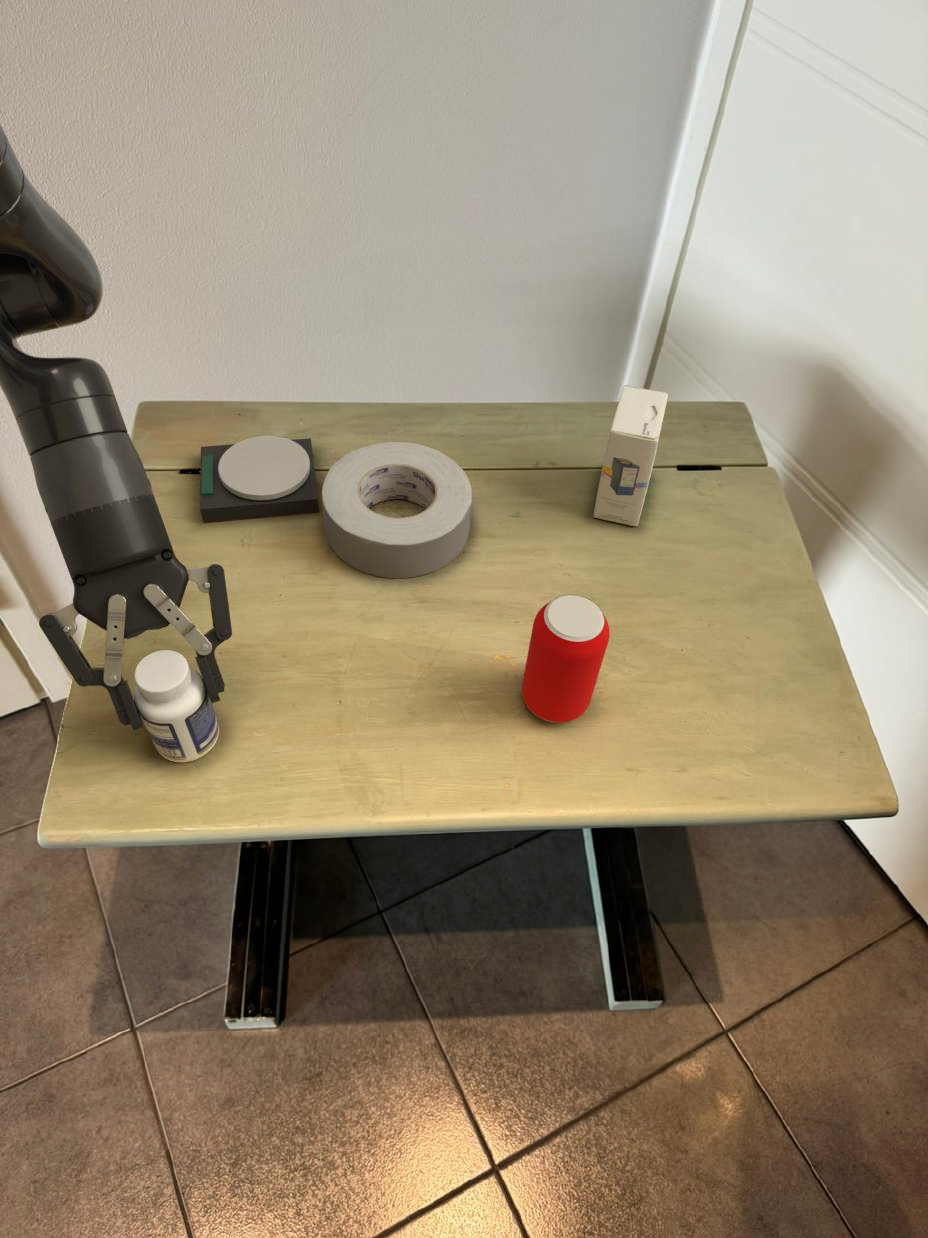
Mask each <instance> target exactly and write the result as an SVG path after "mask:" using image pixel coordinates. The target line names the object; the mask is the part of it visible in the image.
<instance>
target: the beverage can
mask: <svg viewBox="0 0 928 1238" xmlns="http://www.w3.org/2000/svg"><path fill="white" fill-rule="evenodd" d="M530 634H531V635H530V639H529V646H528V651H527V655H526V656H527V657H526V662H525V666H524V672H523V678H522V683H521V696H522V701H523V703H524V704H525V706H526V708H527V709H528V710H529V711H530V713H532V714H533V715H534V716H536V717H537V718H539V719H541V720H544V721H547V722H549V723H567V722H571V721H574V720H576V719H579V717H581V716H582V715H583V714H585V712H586V711H587V710H588V708H589V706H590V704H591V700H592V698H593V694H594V691H595V687H596V684H597V681H598V677H599V674H600V671H601V668H602V664H603V662H604V657H605V655H606V651H607V648H608V644H609V641H610V634H611V632H610V625H609V622H608V620H607V618H606V616H605V614H604V613H603V611H602V609H601V608H600V606H599V605H598V604H597V603H595V602H594V601H592V600H591V599H589V598H586V597H584V596H581V595H578V594H577V595H576V594H564V595H560V596H557V597H555V598H553V599H552V600H550V601H548V602H547V603H545V604H544V605H543V606H542V607H541V608H540V609H539V610H538V612H537V614H536V615H535V617H534V619H533V623H532V628H531V633H530Z"/></svg>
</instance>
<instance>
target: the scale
mask: <svg viewBox="0 0 928 1238" xmlns="http://www.w3.org/2000/svg"><path fill="white" fill-rule="evenodd" d="M313 453H314V452H313V445H312V438H311V437H307V438H296V439H289V438H286V437H282V436H277V435H259V436H253V437H249V438H246V439H243V440H240V441H238V442H236V443H231V444H218V445H205V446H200V469H199V471H200V473H199V474H200V475H199V476H200V477H199V481H200V483H199V511H200V516H201V518H202V522H203V524H204V523H205V524H206V523H207V524H208V523H217V522H219V523H220V522H229V521H239V520H251V519H260V518H261V519H262V518H272V517H274V518H275V517H284V516H294V515H305V514H316V513H320V506H319V496H318V489H317V481H316V480H317V479H316V472H315V461H314V454H313Z"/></svg>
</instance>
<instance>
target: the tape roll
mask: <svg viewBox="0 0 928 1238" xmlns="http://www.w3.org/2000/svg"><path fill="white" fill-rule="evenodd" d="M389 500H404V501H409V502H413V503H415V504H417V505H419V506H420V507H422V508H423V509H424V510H422V511H421V512H419V513H416V514H414V515H410V516H402V517H401V516H400V517H397V516H396V517H395V516H394V517H393V516H386V515H383V514H381V513H377V512H376V511H373V510H372V509H370V508H372V507H373V506H374V505H376V504H379V503H381V502H383V501H389ZM321 503H322V516H323V529H324V534H325V538H326V541H327V542H328V545H329V547H330V548H331V550H332V551H333V552H334V554H335V555H336V556H337V557H338V558H339V559H340V560H341V561H343V562H344V563H346V564H347V565H349V566H350V567H352V568H354V569H355V570H358V571H360V572H362V573H365V574H367V575H372V576H376V577H379V578H385V579H386V578H387V579H388V578H389V579H409V578H416V577H421V576H425V575H429V574H431V573H435V572H436V571H438V570H441V569H442V568H444V567H446V566H448V565H449V564H450V563H451V562H453V561H454V560H455V559H456V558H457V557H458V556H459V555H460V554H461V552H462V551H463V549H464V548H465V546H466V543H467V541H468V538H469V535H470V527H471V517H472V505H473V487H472V485H471V482H470V479H469V477H468V475H467V473H466V472H465V470H464V469H463V468H462V467H461V466H460V465H459V464H458V463H457V462H456V461H455V460H453V459H452V458H450V456H448V455H446V454H444V452H441V451H439V450H437V449H435V448H433V447H429V446H426V445H423V444H419V443H413V442H405V441H404V442H403V441H390V442H389V441H387V442H384V441H383V442H378V443H374V444H373V443H372V444H369V445H366V446H363V447H359V448H357V449H354V450H352V451H350V452H347V453H346V454H344V455H343V456H342V457H340V458H339V459H338V460H337V461H335V463H334V464H333V465H332V466H331V467H330V468H329V470H328V472H327V474H326V476H325V477H324V481H323V483H322V488H321Z"/></svg>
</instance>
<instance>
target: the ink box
mask: <svg viewBox="0 0 928 1238" xmlns="http://www.w3.org/2000/svg"><path fill="white" fill-rule="evenodd" d="M668 399H669V394H668V393H667V392H664V391H658V390H654V389H648V388H643V387H637V386H632V385H626V384H623V386H622V389H621V393H620V396H619V399H618V402H617V406H616V409H615V412H614V416H613V419H612V423H611V426H610V430H609V435H608V439H607V443H606V449H605V453H604V458H603V463H602V469H601V473H600V478H599V483H598V489H597V494H596V499H595V503H594V504H595V505H594V508H593V509H594V510H593V518H595V519H599V520H603V521H607V522H613V523H618V524H622V525H627V526H632V527H638V525H639V523H640V518H641V515H642V513H643V512H642V511H643V507H644V504H645V501H646V497H647V496H646V495H647V494H648V493H647V492H648V488H649V483H650V481H651V480H650V479H651V475H652V472H653V469H654V464H655V460H656V456H657V450H658V446H659V441H660V437H661V436H660V435H661V432H662V427H663V423H664V416H665V412H666V407H667V403H668Z"/></svg>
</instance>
